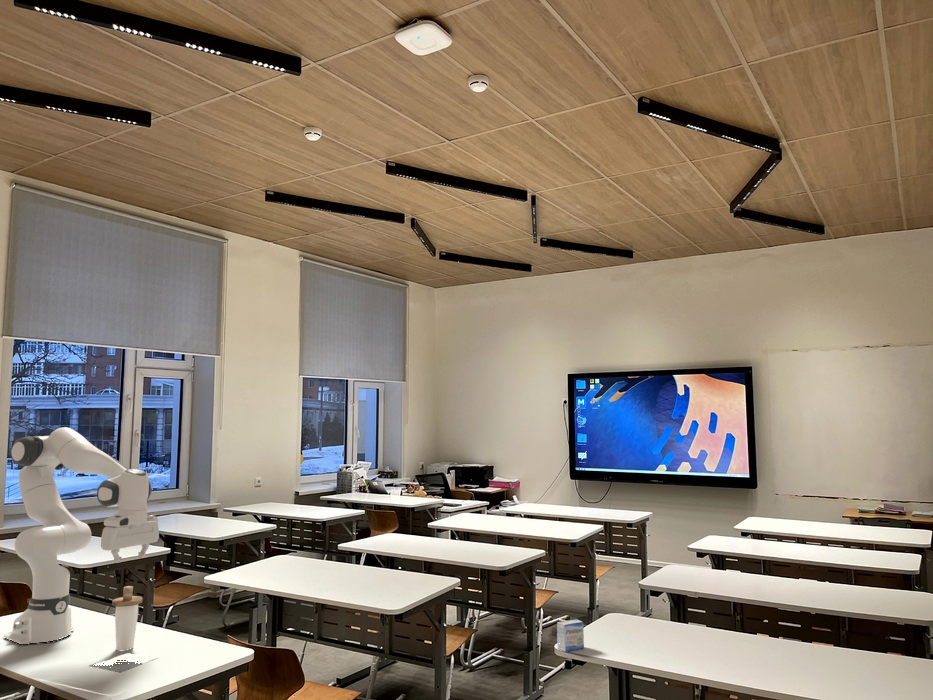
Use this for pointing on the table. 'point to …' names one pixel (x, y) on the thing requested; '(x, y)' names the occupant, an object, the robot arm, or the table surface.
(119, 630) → the drinking glass
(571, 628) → the medicine box
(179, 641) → the table surface
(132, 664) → the mat
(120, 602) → the lid
